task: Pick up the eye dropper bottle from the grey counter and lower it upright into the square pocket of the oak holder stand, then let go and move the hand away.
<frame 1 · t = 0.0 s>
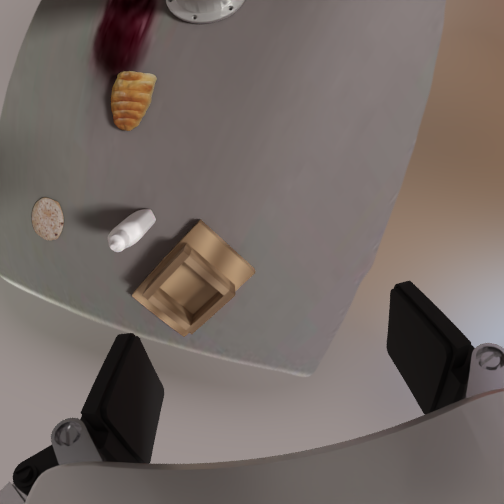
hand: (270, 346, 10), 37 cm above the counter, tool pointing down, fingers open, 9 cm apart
eye dropper bottle: (140, 220, 46), on the counter
flatbread: (49, 217, 45), on the counter
pastry: (135, 97, 40), on the counter
holder stand: (191, 281, 50), on the counter
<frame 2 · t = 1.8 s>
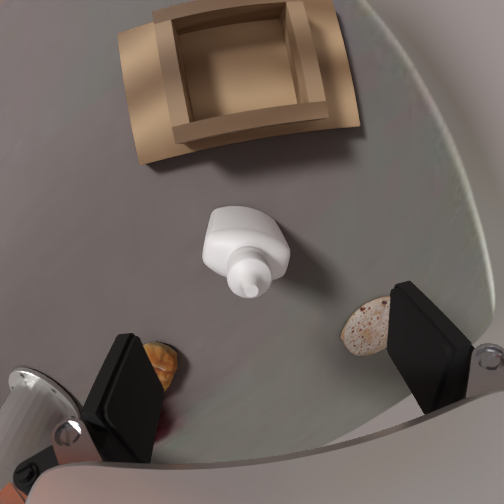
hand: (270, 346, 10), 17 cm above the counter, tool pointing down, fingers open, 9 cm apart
eye dropper bottle: (242, 224, 26), on the counter
flatbread: (372, 324, 32), on the counter
pastry: (142, 365, 31), on the counter
holder stand: (237, 71, 22), on the counter
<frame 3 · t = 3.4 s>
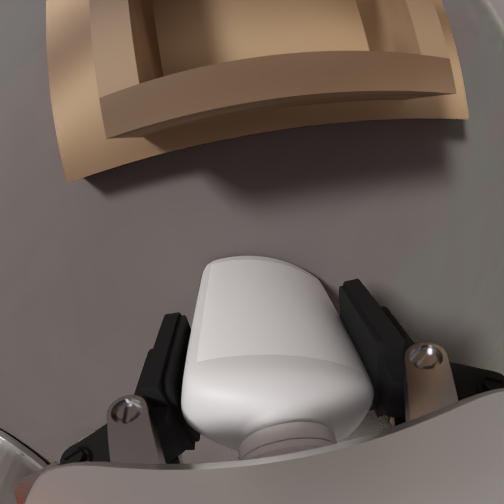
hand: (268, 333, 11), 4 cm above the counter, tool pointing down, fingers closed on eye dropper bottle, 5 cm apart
eye dropper bottle: (260, 286, 15), on the counter, touching gripper
holder stand: (253, 5, 10), on the counter
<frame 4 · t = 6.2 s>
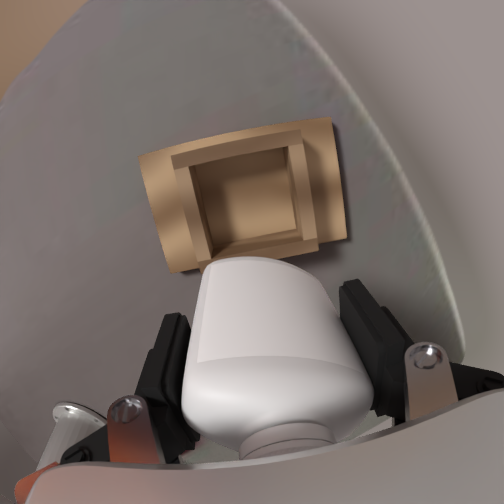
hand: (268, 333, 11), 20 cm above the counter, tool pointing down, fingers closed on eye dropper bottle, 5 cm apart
eye dropper bottle: (260, 287, 15), point 16 cm above the counter, touching gripper
holder stand: (246, 193, 29), on the counter
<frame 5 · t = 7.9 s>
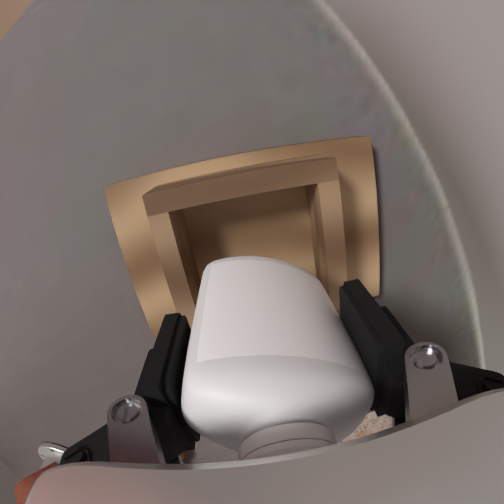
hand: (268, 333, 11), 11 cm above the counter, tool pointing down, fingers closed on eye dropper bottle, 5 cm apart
eye dropper bottle: (260, 286, 15), point 8 cm above the counter, touching gripper
flatbread: (367, 424, 32), on the counter
holder stand: (251, 238, 22), on the counter
when the fingers open (6 cm above the counter, at t = 9.3 s): eye dropper bottle drops 1 cm, resting on holder stand.
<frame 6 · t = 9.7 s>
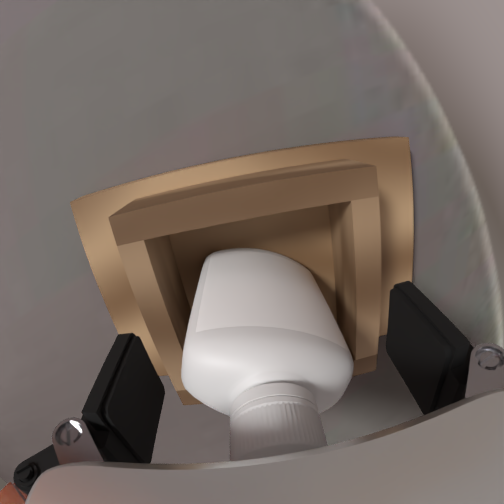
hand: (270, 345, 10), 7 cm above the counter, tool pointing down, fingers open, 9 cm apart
eye dropper bottle: (256, 276, 16), point 1 cm above the counter, touching holder stand
holder stand: (256, 263, 17), on the counter
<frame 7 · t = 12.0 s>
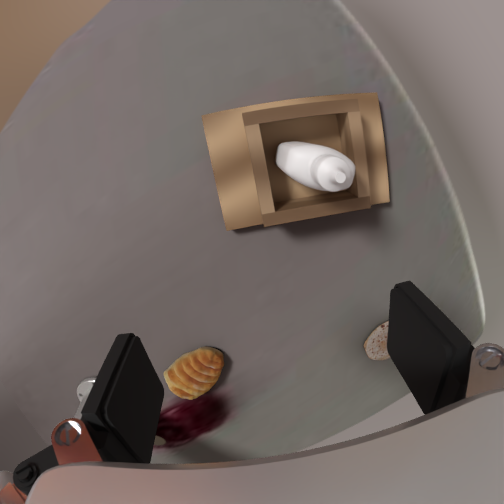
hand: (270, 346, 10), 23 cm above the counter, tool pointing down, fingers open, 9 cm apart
eye dropper bottle: (302, 159, 29), point 1 cm above the counter, touching holder stand
flatbread: (387, 337, 40), on the counter
pastry: (194, 365, 41), on the counter
holder stand: (301, 156, 30), on the counter
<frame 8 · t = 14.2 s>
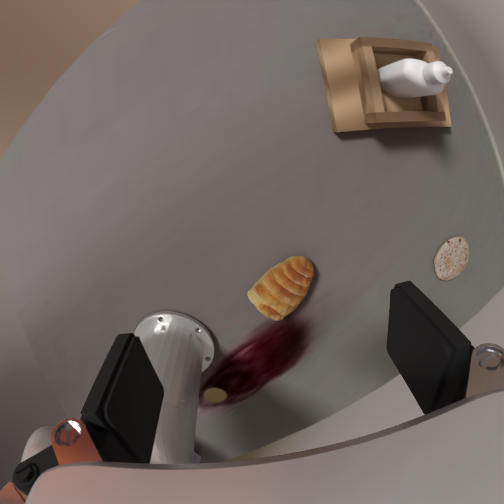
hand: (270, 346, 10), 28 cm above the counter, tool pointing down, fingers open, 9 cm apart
eye dropper bottle: (392, 83, 31), point 1 cm above the counter, touching holder stand
flatbread: (449, 257, 42), on the counter
pastry: (279, 283, 42), on the counter
holder stand: (388, 84, 32), on the counter
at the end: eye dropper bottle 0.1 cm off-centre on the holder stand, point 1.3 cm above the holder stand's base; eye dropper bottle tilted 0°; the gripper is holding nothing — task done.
